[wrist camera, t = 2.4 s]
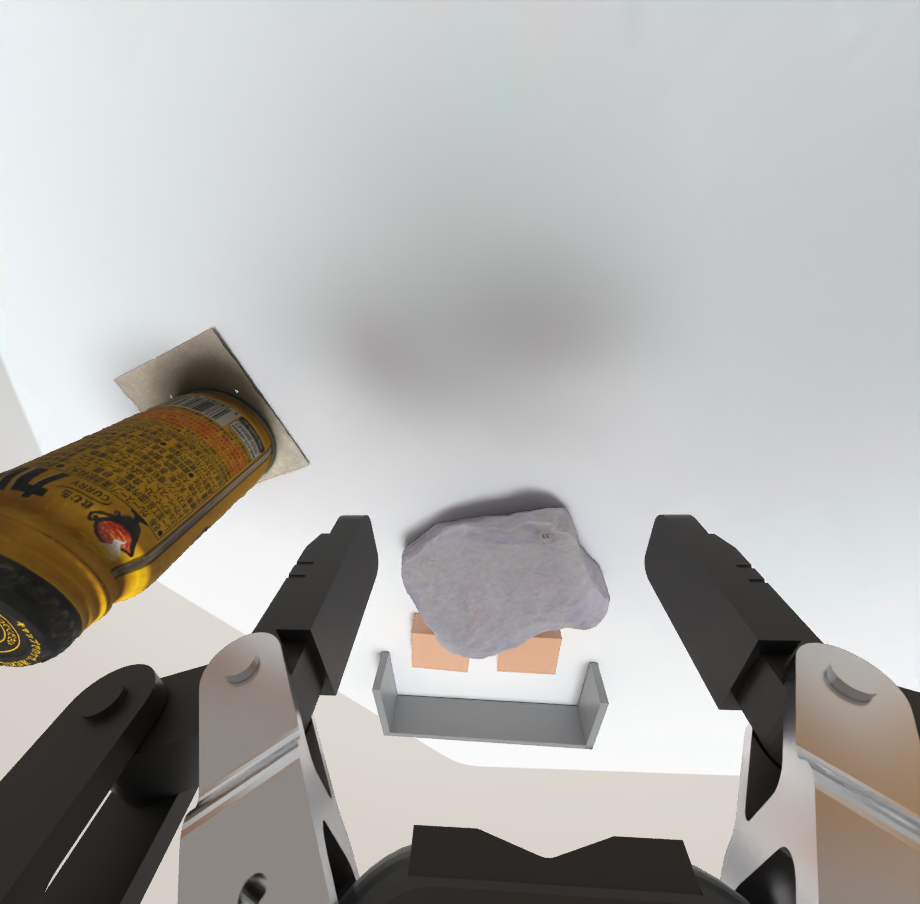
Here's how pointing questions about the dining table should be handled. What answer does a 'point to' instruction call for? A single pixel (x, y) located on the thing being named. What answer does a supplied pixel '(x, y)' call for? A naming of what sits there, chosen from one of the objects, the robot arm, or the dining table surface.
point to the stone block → (503, 580)
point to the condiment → (130, 496)
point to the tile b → (533, 655)
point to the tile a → (432, 650)
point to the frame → (491, 715)
